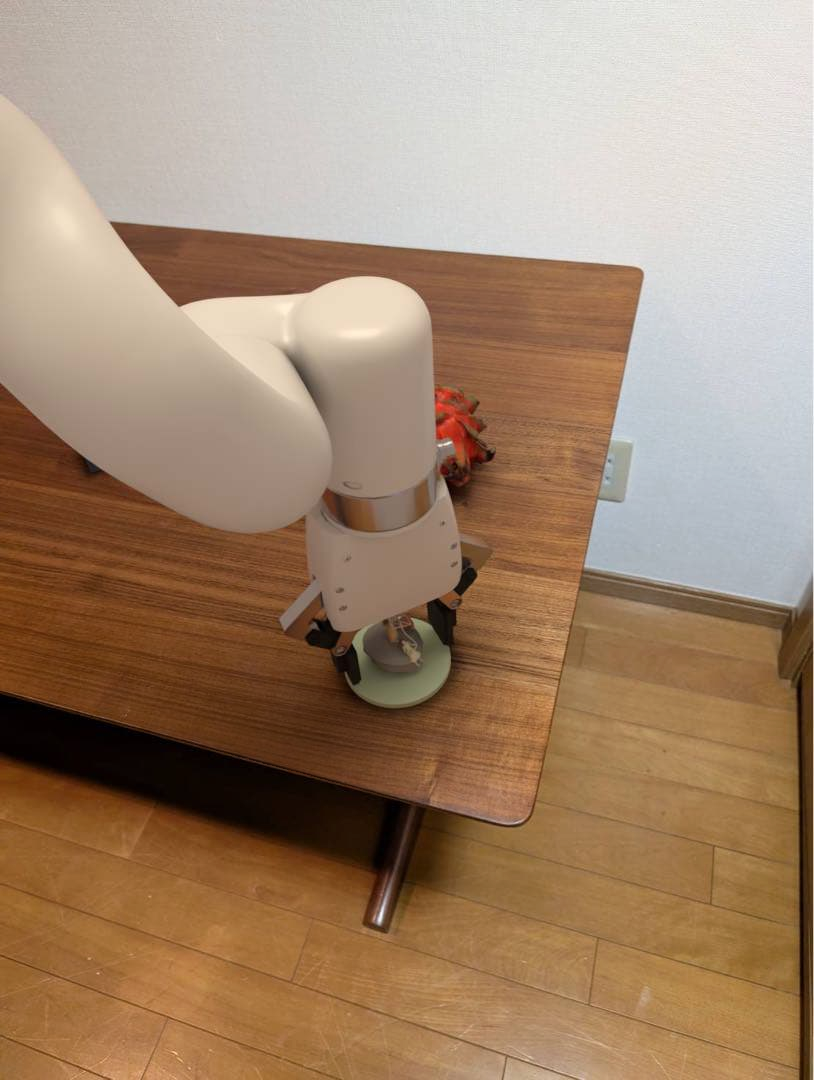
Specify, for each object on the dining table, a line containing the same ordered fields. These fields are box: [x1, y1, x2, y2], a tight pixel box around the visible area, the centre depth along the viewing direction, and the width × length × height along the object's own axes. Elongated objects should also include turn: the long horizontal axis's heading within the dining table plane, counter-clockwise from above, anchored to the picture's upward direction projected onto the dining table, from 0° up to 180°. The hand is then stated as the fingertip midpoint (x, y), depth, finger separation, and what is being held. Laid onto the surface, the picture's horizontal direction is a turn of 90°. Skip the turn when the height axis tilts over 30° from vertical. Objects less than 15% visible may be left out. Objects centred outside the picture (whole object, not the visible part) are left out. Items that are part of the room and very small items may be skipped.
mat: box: [344, 616, 452, 709], centre depth 65 cm, size 8×8×1 cm
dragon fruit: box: [434, 383, 497, 488], centre depth 79 cm, size 8×8×12 cm
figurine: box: [362, 611, 424, 672], centre depth 63 cm, size 5×4×6 cm
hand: (395, 650), depth 64 cm, fingers open, 7 cm apart
